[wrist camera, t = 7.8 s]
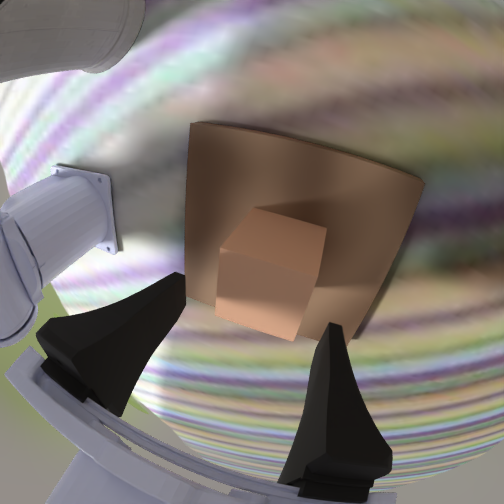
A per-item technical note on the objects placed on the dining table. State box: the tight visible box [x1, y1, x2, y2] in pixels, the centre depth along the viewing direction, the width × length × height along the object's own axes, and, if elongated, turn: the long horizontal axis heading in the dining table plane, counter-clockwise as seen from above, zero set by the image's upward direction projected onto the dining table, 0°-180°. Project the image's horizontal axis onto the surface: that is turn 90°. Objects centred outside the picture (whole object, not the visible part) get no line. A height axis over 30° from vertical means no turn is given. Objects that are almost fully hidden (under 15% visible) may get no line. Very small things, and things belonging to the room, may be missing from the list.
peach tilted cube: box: [215, 208, 327, 341], centre depth 16 cm, size 5×5×5 cm
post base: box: [185, 122, 425, 347], centre depth 16 cm, size 14×14×5 cm
